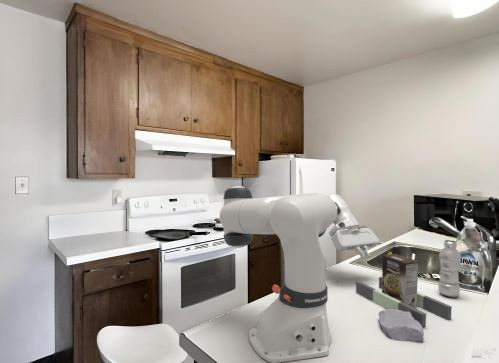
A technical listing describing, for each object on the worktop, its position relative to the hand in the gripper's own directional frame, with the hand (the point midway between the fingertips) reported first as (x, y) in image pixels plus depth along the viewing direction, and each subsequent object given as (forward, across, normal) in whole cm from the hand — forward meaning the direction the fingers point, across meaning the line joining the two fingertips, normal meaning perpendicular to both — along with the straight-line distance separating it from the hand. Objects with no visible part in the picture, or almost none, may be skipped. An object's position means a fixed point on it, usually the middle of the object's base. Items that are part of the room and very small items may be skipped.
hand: (365, 257), depth 109 cm
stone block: (+27, +14, +9) cm, 31 cm away
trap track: (+19, 0, +2) cm, 19 cm away
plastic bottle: (+20, -23, +4) cm, 31 cm away
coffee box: (+19, 0, +2) cm, 19 cm away
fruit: (+4, -20, -13) cm, 24 cm away
